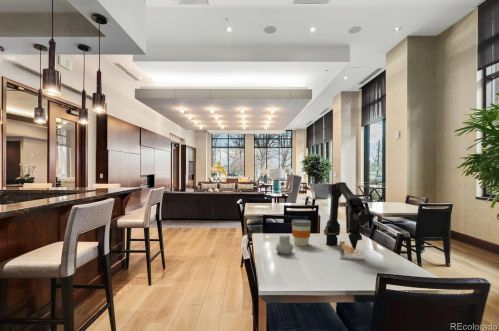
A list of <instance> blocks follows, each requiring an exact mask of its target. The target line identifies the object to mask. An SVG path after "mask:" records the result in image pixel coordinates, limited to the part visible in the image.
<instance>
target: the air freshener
mask: <svg viewBox="0 0 499 331" xmlns="http://www.w3.org/2000/svg"><path fill="white" fill-rule="evenodd" d="M290 238H291V236H290V235H289V234H284V233H283V234H280V235H279V242H277V243H276V246H275V251H276V252H277V253H279V254H282V255H289V254H291V253H292V252H293V248H294V246H293V243H291V239H290Z"/></svg>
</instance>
